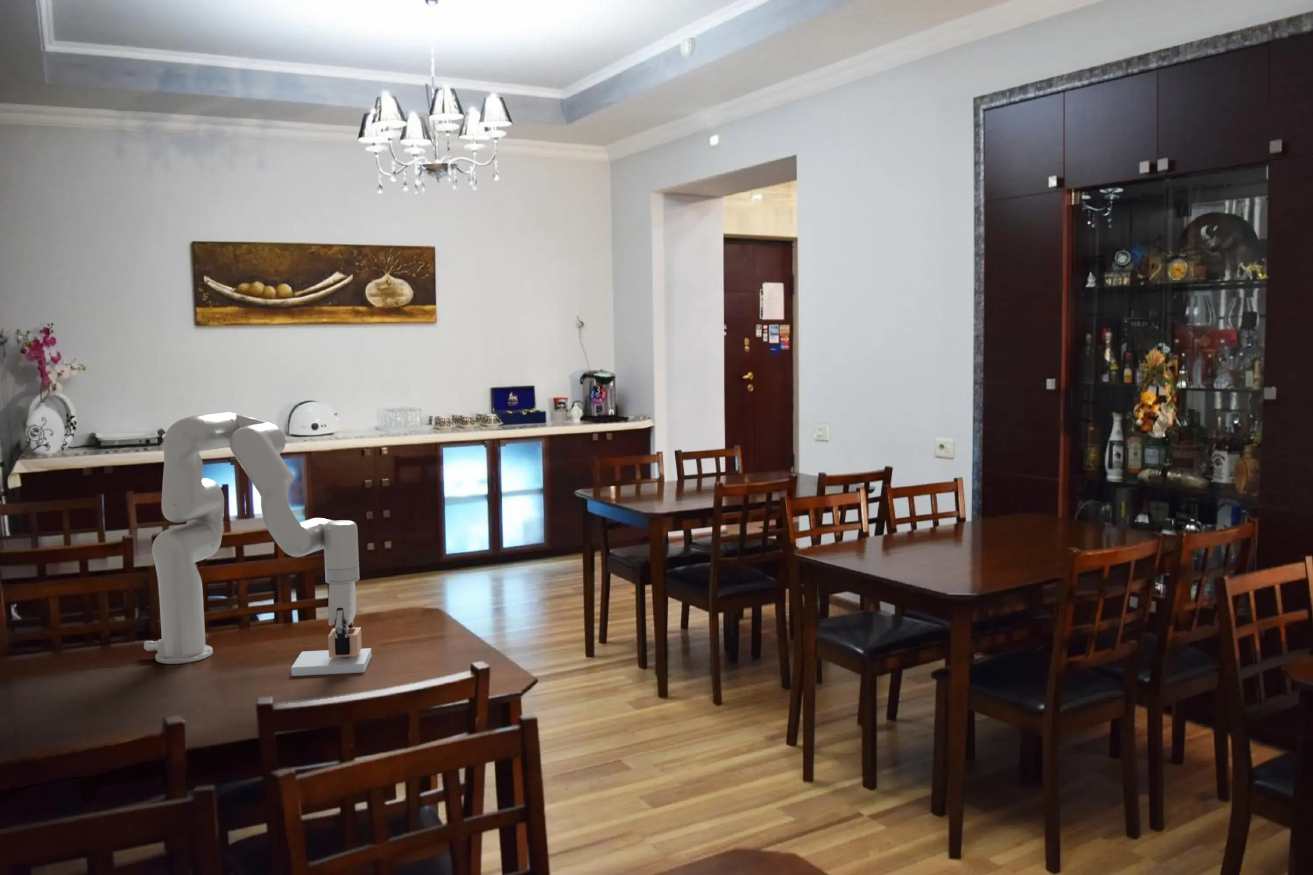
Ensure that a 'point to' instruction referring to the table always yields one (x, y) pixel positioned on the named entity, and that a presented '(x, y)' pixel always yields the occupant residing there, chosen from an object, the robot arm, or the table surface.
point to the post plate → (330, 663)
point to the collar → (354, 642)
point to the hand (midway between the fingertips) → (345, 649)
